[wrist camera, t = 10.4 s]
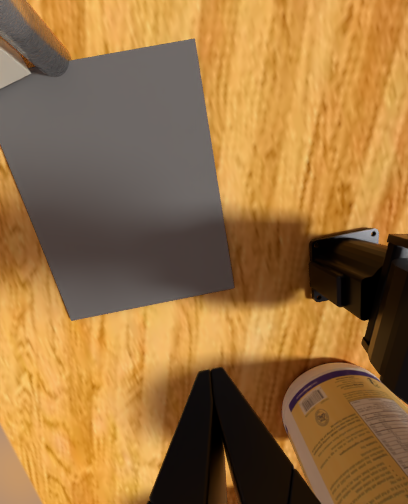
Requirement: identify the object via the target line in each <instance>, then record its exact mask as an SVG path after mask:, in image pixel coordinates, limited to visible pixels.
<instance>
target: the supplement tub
mask: <svg viewBox="0 0 408 504" xmlns="http://www.w3.org/2000/svg"><path fill="white" fill-rule="evenodd" d="M282 418H283V423H284V428H285V430H286V433H287V434H288V437H289V439H290V442H291V444H292V446H293V449H294V451H295V454H296V456H297V459H298V461H299V463H300V466H301V468H302V471H303V473H304V475H305V478H306V480H307V483H308V485H309V488H310V489H311V490H312V492H313V493H314V494H315V496H316V497H317V498H318V500H319V501H320V502H321V504H408V408H407V407H406V406H405V405H404V404H403V403H402V402H401V401H400V400H399V399H398V398H397V397H396V396H395V395H394V394H393V393H392V392H391V391H390V390H389V389H388V388H387V387H386V386H384V384H383V383H382V382H381V381H380V380H379V379H378V378H377V377H376V376H374V375H373V374H372V373H370V372H369V371H367V370H366V369H364V368H362V367H359V366H357V365H353V364H349V363H327V364H323V365H319V366H317V367H314V368H312V369H310V370H308V371H306V372H305V373H303V374H302V375H300V376H299V377H298V378H296V379H295V380H294V381H293V383H292V384H291V385H290V387H289V388H288V390H287V392H286V394H285V397H284V400H283V404H282Z"/></svg>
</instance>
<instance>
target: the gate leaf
mask: <svg viewBox="0 0 408 504" xmlns="http://www.w3.org/2000/svg"><path fill="white" fill-rule="evenodd" d="M29 74H31V73H30V71H29V69H28V67H27V65H26V64H25V62H24V60H23V58H22V56H21V55H20V54H19V53H18V52H17V51H16V50H15V49H13V48H12V47H11V46H10V45H9V44H8V43H6V42H5V41H4V40H3V39H2V38H0V89H1V88H3V87H5V86H7V85H9V84H11V83H13V82H15V81H17V80H19V79H21V78H23V77H25V76H27V75H29Z"/></svg>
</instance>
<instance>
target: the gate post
mask: <svg viewBox="0 0 408 504" xmlns="http://www.w3.org/2000/svg"><path fill="white" fill-rule="evenodd" d="M0 36H1V37H2V38H3V39H4V40H5V41H7V42H8V43H9V44H10V45H11V46H12V47H14V48H15V49H16V50H17V51H18V52H19V53H21V54H22V55H23V56H24V57H25V58H26V59H28V60H29V61H30V62H31V63H32V64H33V65H35V66H36V67H37V68H38V69H39V70H40V71H42V72H43V73H44V74H46V75H48V76H50V77H59V76H61V75H63V74H64V73H65V72H66V70H67V68H68V65H69V61H71V57H70V54H69V52H68V51H67V49H66V48H65V47H64V46H63V44H62V43H61V42H60V41H59V39H58V38H57V37H56V36H55V35H54V33H53V32H52V31H51V30H50V29H49V27H48V26H47V25H46V24H45V22H44V21H43V20H42V19H41V18H40V16H39V15H38V14H37V13H36V12H35V10H34V9H33V8H32V7H31V5H30V4H29V3H28V2H27V1H26V0H0Z"/></svg>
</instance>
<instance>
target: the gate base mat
mask: <svg viewBox="0 0 408 504" xmlns="http://www.w3.org/2000/svg"><path fill="white" fill-rule="evenodd" d="M28 69H29V71H30V73H31V74H29V75H27V76H25V77H23V78H21V79H19V80H17V81H15V82H13V83H11V84H9V85H7V86H5V87H3V88H1V89H0V145H1V147H2V150H3V152H4V154H5V157H6V159H7V162H8V164H9V167H10V169H11V172H12V174H13V177H14V179H15V182H16V184H17V187H18V189H19V192H20V194H21V197H22V199H23V202H24V204H25V207H26V209H27V212H28V214H29V217H30V219H31V222H32V224H33V227H34V229H35V232H36V234H37V237H38V239H39V242H40V244H41V247H42V249H43V252H44V254H45V257H46V259H47V261H48V264H49V266H50V269H51V271H52V274H53V276H54V279H55V281H56V284H57V286H58V289H59V291H60V294H61V296H62V299H63V301H64V304H65V306H66V309H67V311H68V314H69V316H70V319H71V321H73V320H78V319H83V318H88V317H93V316H98V315H103V314H108V313H113V312H118V311H123V310H128V309H133V308H138V307H143V306H148V305H153V304H158V303H163V302H168V301H173V300H178V299H183V298H188V297H193V296H198V295H203V294H208V293H213V292H218V291H223V290H228V289H233V288H234V282H233V276H232V269H231V263H230V257H229V250H228V244H227V238H226V232H225V225H224V219H223V213H222V207H221V200H220V194H219V188H218V181H217V175H216V169H215V163H214V156H213V150H212V144H211V137H210V131H209V125H208V119H207V112H206V106H205V100H204V94H203V87H202V81H201V75H200V68H199V62H198V56H197V50H196V43H195V39H189V40H184V41H178V42H172V43H167V44H161V45H156V46H150V47H144V48H139V49H133V50H127V51H122V52H116V53H111V54H105V55H99V56H94V57H88V58H82V59H77V60H71V61H69V65H68V68H67V70H66V72H65V73H64V74H63V75H61V76H59V77H50V76H48V75H46V74H44V73H43V72H42V71H40V70H39V69H38V68H37V67H32V68H28Z"/></svg>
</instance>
